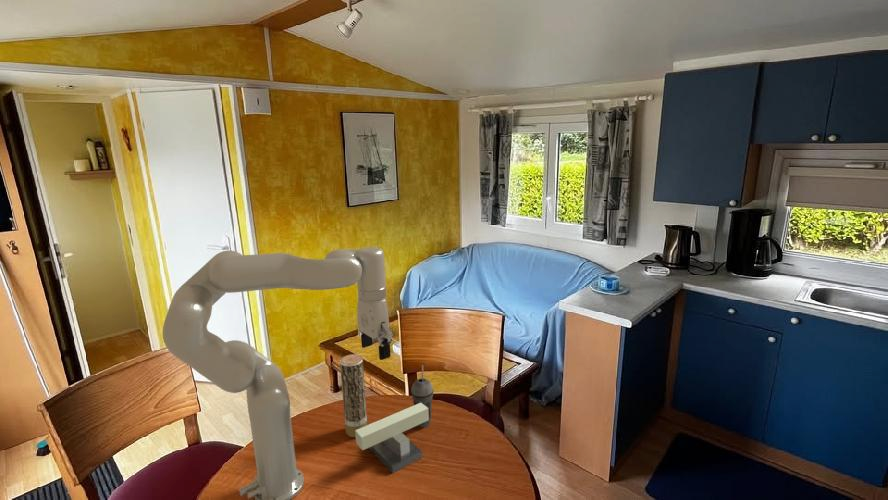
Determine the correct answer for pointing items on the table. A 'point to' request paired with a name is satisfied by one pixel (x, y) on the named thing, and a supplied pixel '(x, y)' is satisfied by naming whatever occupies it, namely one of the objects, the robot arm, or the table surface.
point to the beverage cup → (423, 395)
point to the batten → (391, 426)
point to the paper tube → (353, 393)
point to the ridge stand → (396, 452)
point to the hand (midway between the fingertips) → (375, 352)
